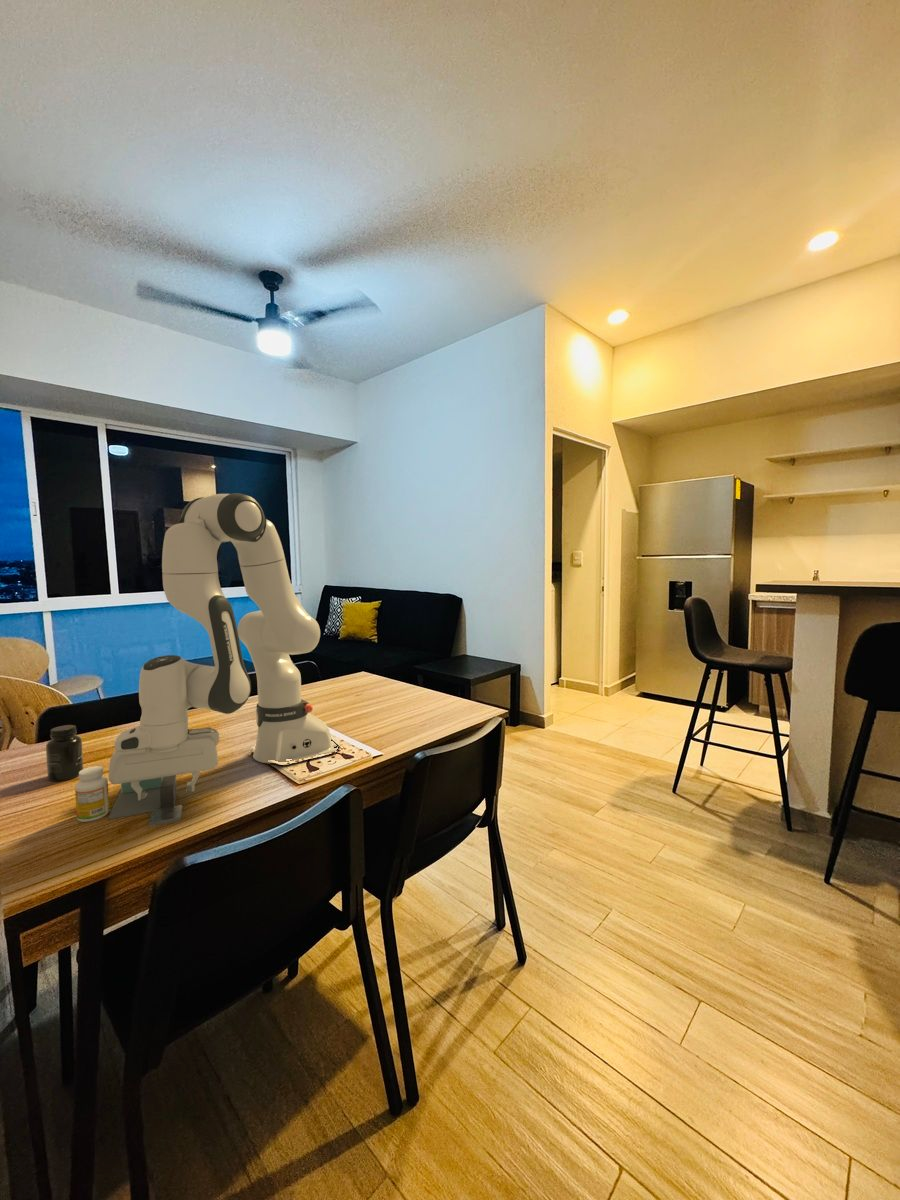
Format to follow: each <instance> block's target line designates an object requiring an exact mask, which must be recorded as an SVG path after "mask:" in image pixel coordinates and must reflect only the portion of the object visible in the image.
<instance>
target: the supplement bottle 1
mask: <svg viewBox="0 0 900 1200" xmlns="http://www.w3.org/2000/svg"><path fill="white" fill-rule="evenodd" d="M49 736H50V740H48V742H47V743H46V746H45V752H46V755H45V757H46V771H47V779H48V780H49V781H51V782H63V780H64V781H68V780H72V779H75V778H77V777H79V772H80V771H81V770H83V769H84V757H83V756H84V755H83V741H82V737H80V736H79V735H77V726H76V725H73V724H65V725H61V726H60V725H59V726H56V727H53V728H51V729H50V735H49Z"/></svg>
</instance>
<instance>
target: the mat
mask: <svg viewBox="0 0 900 1200" xmlns="http://www.w3.org/2000/svg"><path fill="white" fill-rule="evenodd" d="M156 809H161V802H160V787H157V788H151V789H147V799H145V800H140V801H138V793H136V792H135V791H133V792H127V793H121V789H120V790H119V792H118V795H117V797H116V799H115V801H114V804H113V806H112V809H111V811H110V813H109V815H108V818H107V819H108V820H114V819H118V818H124V817H130V816H135V815H140V814H146V812H147V813H150V812H151V813H152V810H156Z"/></svg>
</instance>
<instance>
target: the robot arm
mask: <svg viewBox="0 0 900 1200" xmlns="http://www.w3.org/2000/svg"><path fill="white" fill-rule="evenodd" d="M227 542H228V543H229V542H231V543H232V544H233V546H234V548H235V550H236V552H237V559H238V563H239V568H240V572H241V575H242V580H243V584H244V588H245V592H246V594H247V596H248V598H249V599H251V600H252V602H254V603H255V604H256V605H257V607H258V608H259V610H256V611H251V612H248V613H246V614H244V615H243V616H242V618H240V620H239V622H238V625H237V623H236V618H235V617H236V616H235V613H234V609H233V607H232V604H231V602H230V601H229V600H228V599H227V598H226V596H225V594H224V593H223V590H222V588H221V584H220V579H219V569H218V568H219V567H218V560H217V556H218V550H219V548H220V547H221V546H220V545H221V544H222V543H227ZM161 554H162V555H161V556H162V557H161V569H162V570H161V572H162V576H161V577H162V587H163V591H164V596H165V597H166V600H167V601H168V603H169V604H170V605H171V606H172V607H173V608H174V609H176V610H178V611H179V612H181V613H183V614H184V615H185V614H186V615H187V616H189V617H191V618H193V619H194V620H196V621H197V622H198V623H199V624H200V625H202V626H203V627H204V629H205V630H206V632H207V634H208V637H209V641H210V647H211V651H212V652H211V653H212V656H213V657H212V658H213V662H214V666H213V665H211V666H210V665H205V664H199V663H193V662H191V661H187V660H185V659H183V658H182V656H181V655H177V654H175V655H174V654H167V655H162V656H157V657H154V658H150V659H149V660H147V661H146V662H144V663H143V665H142V666H141V670H140V673H139V679H138V681H139V682H138V700H139V701H138V703H139V705H140V707H141V716H140V719H139V725H138V726H135V727H132V728H129V729H125V730H124V731H122V732H120V733H119V734H118V736H117V737H116V738H115V741H114V743H113V746H114V752H113V753H112V755H111V757H110V760H109V765H108V782H110V783H111V784H112V785H121V783H128V782H131V787H132V788H133V789H134V790H135V792H136V793H138V801H140V800H145V799H147V789H142V787H141V786H140V785H139V783H140V781H141V780H148V779H154V778H161V777H167V776H174V775H176V776H181V775H185V774H186V775H187V774H191V777H192V779H191V781H187V782H186V793H192V792H195V785H196V783H197V781H198V779H199V778H200V774H201V773H200V772H206V771H213V770H215V769H216V768H217V766H218V765H219V754H218V747H217V746H218V744H219V742H220V732H219V731H218V730H217V729H215V728H212V727H210V726H208V727H204V728H202V727H201V728H190V729H189V715H188V714H189V713H188V710H189V709H190V708H196V709H201V710H202V709H204V710H211V711H213V712H217V713H222V714H224V715H230V714H233V713H235V712H236V711H238V710H240V709H241V708H242V707H243V706H244V705H245V704H246V702H247V701H248V700H249V697H250V695H251V692H252V682H251V679H250V676H249V673H248V671H247V669H246V666H245V663H244V662H245V661H244V657H243V653H242V648H241V642H242V643H243V645H244V646H245V647H246V649H247V651H248V653H249V655H250V658H251V661H252V663H253V664H252V665H253V667H254V670H255V674H256V681H257V682H256V683H257V704H256V709H255V717H256V718H255V719H256V721H255V722H256V725H257V733H256V742H255V745H254V746H255V748H254V751H253V754H252V757H253V759H254V760H255V761H257V762H260V763H262V764H269V763H268V760H275V761H278V762H289V761H286V759H292V760H290V761H294V760H299V759H304V758H308V757H311V756H316V755H321V754H326V753H329V752H334V751H336V750H337V749H338V747H337V748H334V747H336V746H337V745H336V744H335V743H334V742H333V741H331V736H332V735H331V732H330V729H329V726H328V725H327V723H326V722H325V721H324V720H322V719H320V718H318V716H315V715H314V714H312V711H313V705H312V704H311V703H309V702H308V701H307V700H306V699H302V677H301V672H300V670H299V669H298V667H297V666H296V665H295V664H294V662H293V660H292V659H291V657H290V655H291V656H294V655H302V654H307V653H311V652H313V650H315V648H316V647H317V646H318V644H319V642H320V638H321V629H320V625H319V622H318V621H317V620H316V619H315V618H313V616H311V615H310V613H307V610H305V608H304V607H303V605H302V604H301V601H300V600H299V599H298V597H297V595H296V593H295V590H294V588H293V586H292V582H291V579H290V574H289V571H288V566H287V562H286V561H287V560H286V557H285V553H284V549H283V545H282V541H281V538H280V535H279V534H278V531H277V529H276V527H275V524H274V523H273V522H272V521H270V520H268V519H267V518H266V516H265V513H264V510H263V508H262V506H261V505H260V503H259V502H258V501H257V500H256V499H255V498H253V497H252V496H249V495H247V494H243V493H239V492H233V493H216V494H212V495H209V496H208V495H207V496H205V497H201V496H200V497H197V498H194V499H192V500H191V501H190V502H187V504H186V505H185V506H184V507H183V509H182V511H181V515H180V519H179V520H178V523H176V524H174V525H172V526H170V527H168V528H167V529H166V531H165V533H164V537H163V544H162V553H161Z"/></svg>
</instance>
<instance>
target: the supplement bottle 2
mask: <svg viewBox="0 0 900 1200" xmlns="http://www.w3.org/2000/svg"><path fill="white" fill-rule="evenodd" d="M108 783H109V779H108V778H107V777H106V776H104V767H103V766H101V765H100V766H99V765H94V766H89V767H85V768H83V770H81V771H80V772H79V776H78V781H77V783H76V784H75V786H74V791H75V793H74V795H75V808H76V810H75V812H76V819H77V821H78V822H82V823H87V822H94V821H96V820H100V819H102V818H104V817H105V816H107V814H109V812H110V801H109V800H110V799H109V784H108Z"/></svg>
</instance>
